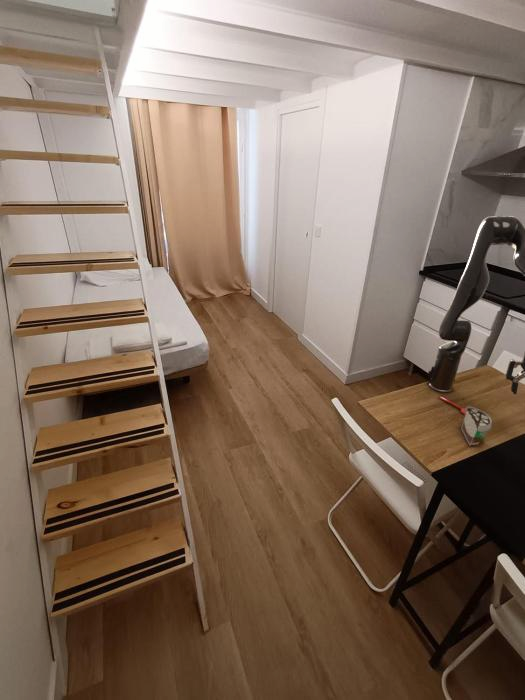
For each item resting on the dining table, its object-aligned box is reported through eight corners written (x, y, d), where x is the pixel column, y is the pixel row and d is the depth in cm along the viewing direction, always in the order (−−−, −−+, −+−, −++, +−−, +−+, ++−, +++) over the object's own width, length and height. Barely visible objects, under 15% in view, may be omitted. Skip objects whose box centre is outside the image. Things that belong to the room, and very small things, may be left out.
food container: (490, 451, 116) (499, 428, 111) (471, 448, 117) (479, 426, 112) (477, 428, 127) (485, 407, 122) (460, 426, 128) (467, 405, 123)
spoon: (436, 399, 144) (437, 397, 143) (443, 396, 146) (443, 394, 145) (468, 417, 133) (469, 415, 132) (475, 414, 134) (475, 412, 134)
